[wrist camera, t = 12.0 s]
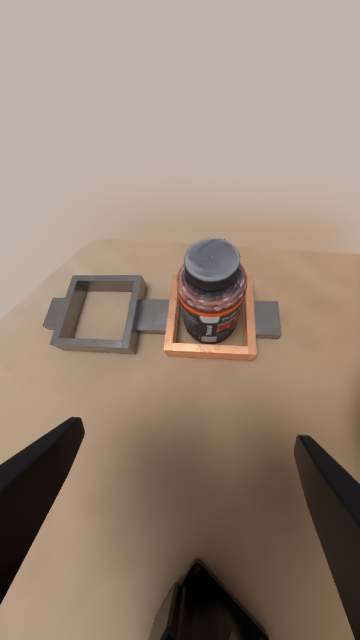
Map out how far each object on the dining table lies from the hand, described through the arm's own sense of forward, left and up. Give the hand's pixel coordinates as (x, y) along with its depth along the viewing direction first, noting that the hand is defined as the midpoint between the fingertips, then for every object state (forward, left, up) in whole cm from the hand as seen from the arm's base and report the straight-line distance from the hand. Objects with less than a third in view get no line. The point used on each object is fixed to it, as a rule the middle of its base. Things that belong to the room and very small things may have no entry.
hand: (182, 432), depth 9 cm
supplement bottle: (+5, -10, -14) cm, 18 cm away
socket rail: (+11, -6, -14) cm, 18 cm away
